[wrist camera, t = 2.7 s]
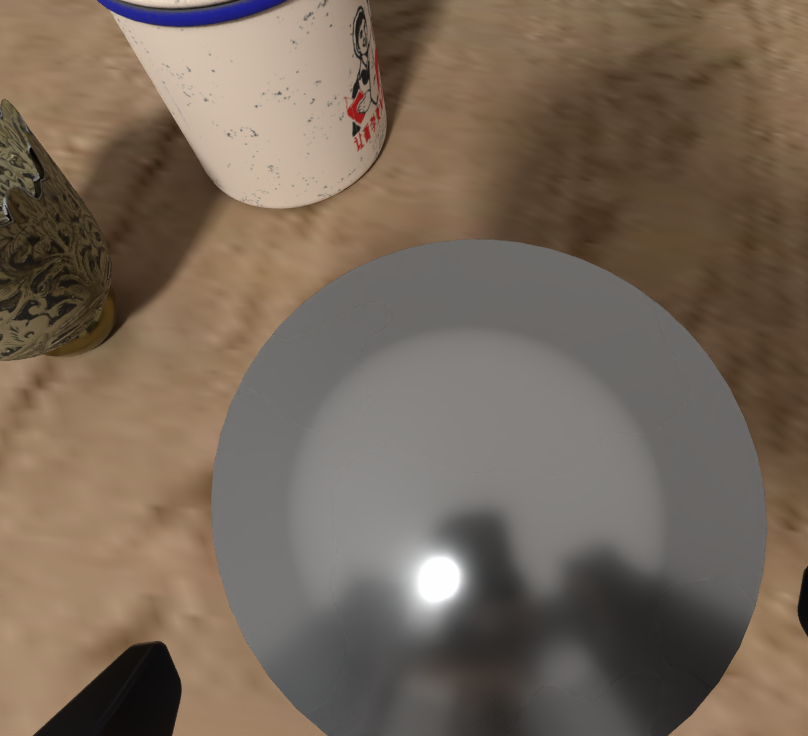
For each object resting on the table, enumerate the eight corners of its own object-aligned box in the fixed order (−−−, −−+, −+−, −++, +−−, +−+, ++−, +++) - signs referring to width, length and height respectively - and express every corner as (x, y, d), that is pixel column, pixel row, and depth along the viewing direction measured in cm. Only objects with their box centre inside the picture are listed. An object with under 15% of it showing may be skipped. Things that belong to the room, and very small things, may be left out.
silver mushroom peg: (574, 556, 15) (882, 451, 4) (466, 685, 14) (502, 987, 3) (456, 448, 17) (457, 169, 6) (351, 558, 16) (113, 468, 5)
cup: (14, 259, 23) (-192, 103, 16) (177, 235, 23) (43, 64, 15) (-26, 421, 20) (-304, 320, 13) (162, 396, 20) (-13, 277, 12)
